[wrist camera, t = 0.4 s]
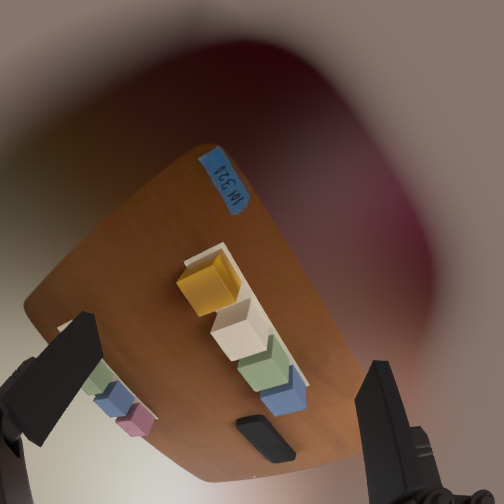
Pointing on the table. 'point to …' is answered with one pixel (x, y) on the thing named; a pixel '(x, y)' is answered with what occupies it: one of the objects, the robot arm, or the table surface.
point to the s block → (210, 283)
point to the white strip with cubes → (257, 348)
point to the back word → (117, 399)
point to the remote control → (265, 439)
